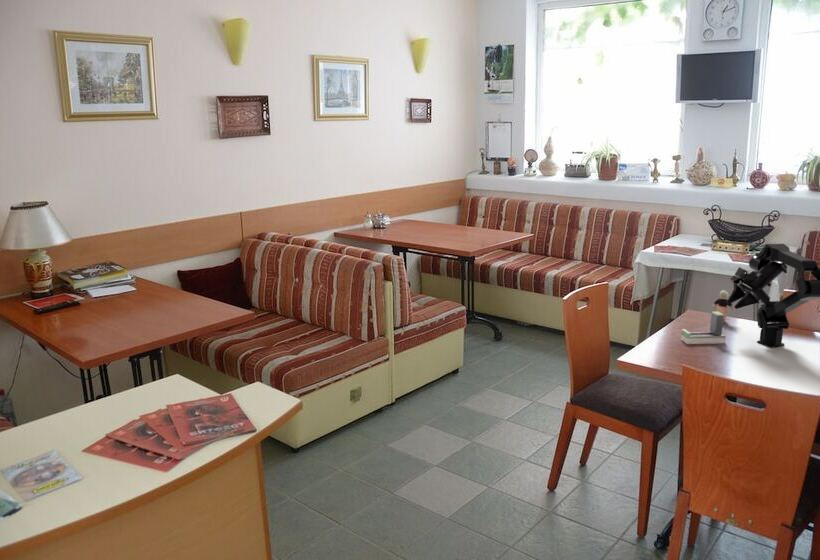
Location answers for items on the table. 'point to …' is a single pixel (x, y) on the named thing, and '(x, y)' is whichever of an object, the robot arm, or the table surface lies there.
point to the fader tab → (716, 323)
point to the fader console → (701, 337)
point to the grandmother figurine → (722, 304)
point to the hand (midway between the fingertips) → (731, 305)
